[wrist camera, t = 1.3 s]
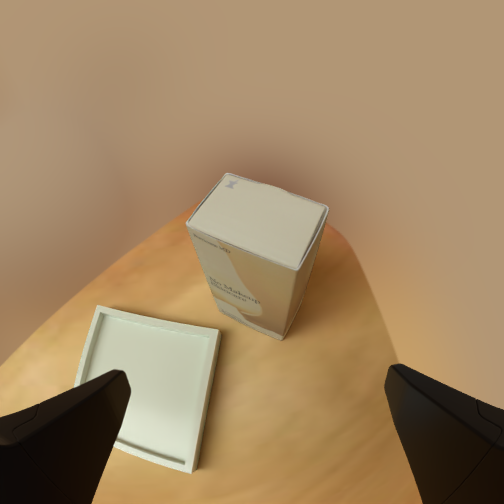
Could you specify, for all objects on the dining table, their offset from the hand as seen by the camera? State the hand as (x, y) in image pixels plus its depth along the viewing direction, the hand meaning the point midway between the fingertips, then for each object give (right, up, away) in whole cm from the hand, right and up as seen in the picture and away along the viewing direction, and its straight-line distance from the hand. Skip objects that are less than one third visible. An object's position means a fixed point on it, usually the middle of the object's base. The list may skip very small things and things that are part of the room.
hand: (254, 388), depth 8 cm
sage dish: (-9, -7, +12) cm, 17 cm away
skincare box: (+1, -1, +16) cm, 16 cm away
